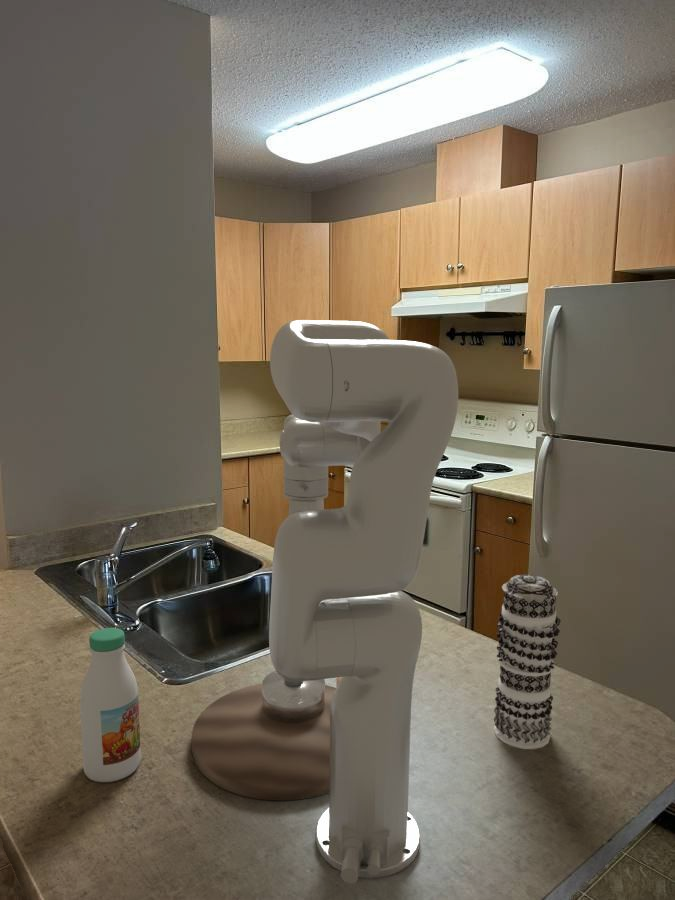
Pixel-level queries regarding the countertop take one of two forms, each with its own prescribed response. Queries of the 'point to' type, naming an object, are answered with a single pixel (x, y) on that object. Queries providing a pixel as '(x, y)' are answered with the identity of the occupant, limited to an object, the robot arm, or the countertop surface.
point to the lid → (292, 698)
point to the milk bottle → (109, 710)
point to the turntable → (262, 748)
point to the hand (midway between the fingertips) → (305, 590)
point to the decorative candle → (526, 662)
